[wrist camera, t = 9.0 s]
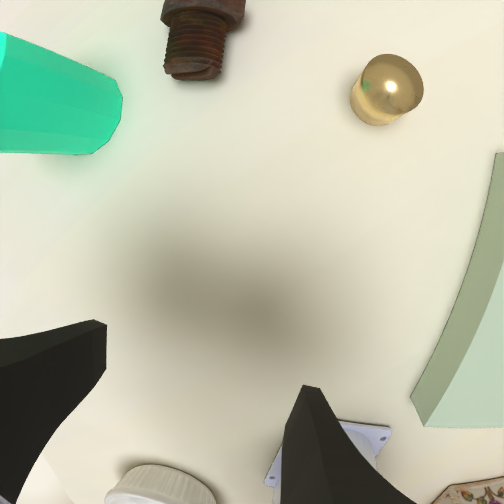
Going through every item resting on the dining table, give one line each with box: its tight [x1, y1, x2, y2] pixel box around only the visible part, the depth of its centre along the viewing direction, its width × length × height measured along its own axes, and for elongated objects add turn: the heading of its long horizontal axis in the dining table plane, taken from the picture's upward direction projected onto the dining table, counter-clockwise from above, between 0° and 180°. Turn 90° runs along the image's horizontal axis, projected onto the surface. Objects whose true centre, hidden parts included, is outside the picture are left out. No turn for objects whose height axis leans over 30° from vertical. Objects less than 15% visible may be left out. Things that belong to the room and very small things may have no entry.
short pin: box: [350, 54, 424, 126], centre depth 14 cm, size 3×3×4 cm
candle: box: [0, 31, 123, 155], centre depth 12 cm, size 6×6×12 cm
